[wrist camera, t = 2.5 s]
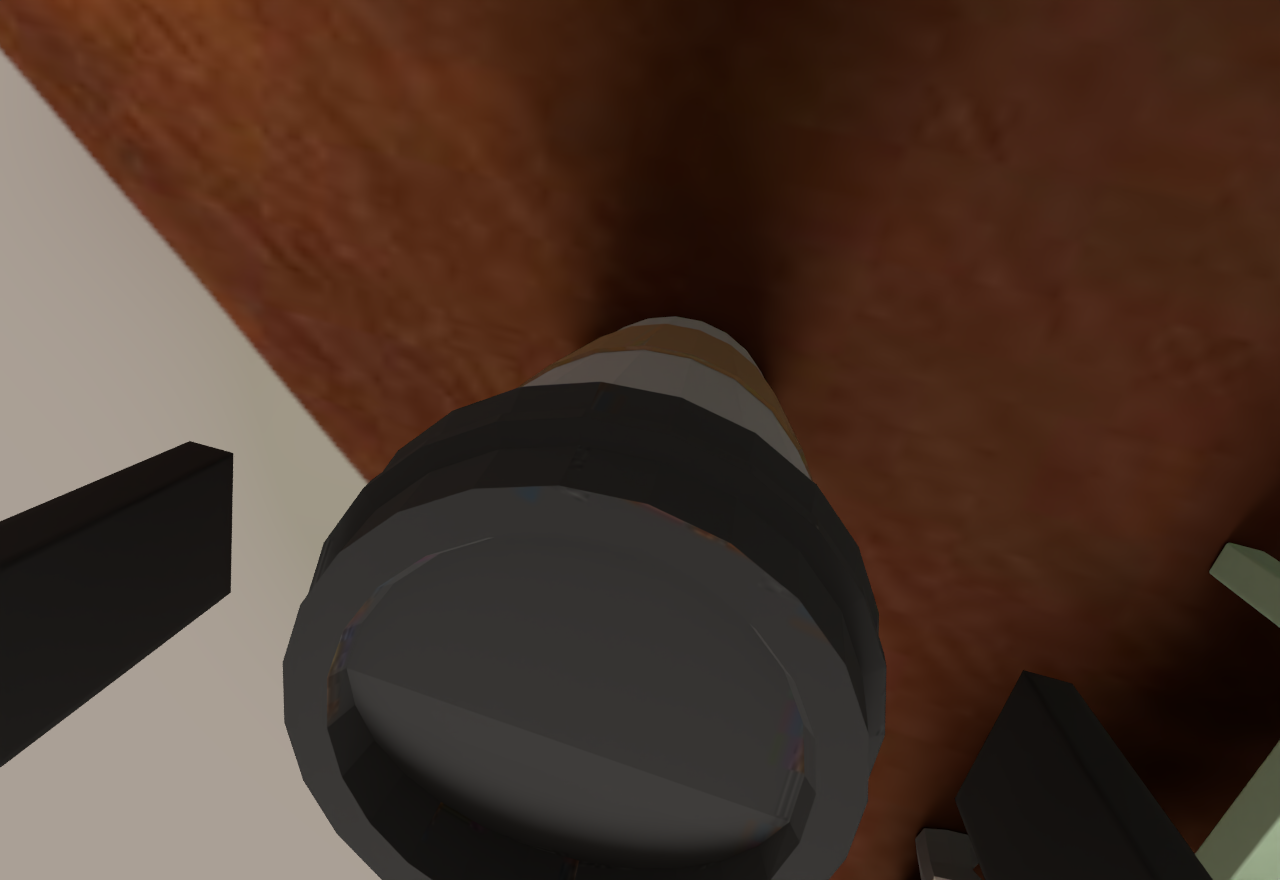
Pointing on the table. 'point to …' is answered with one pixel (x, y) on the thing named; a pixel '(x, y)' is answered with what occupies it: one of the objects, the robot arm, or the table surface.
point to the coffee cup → (594, 635)
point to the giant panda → (945, 855)
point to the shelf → (1276, 794)
